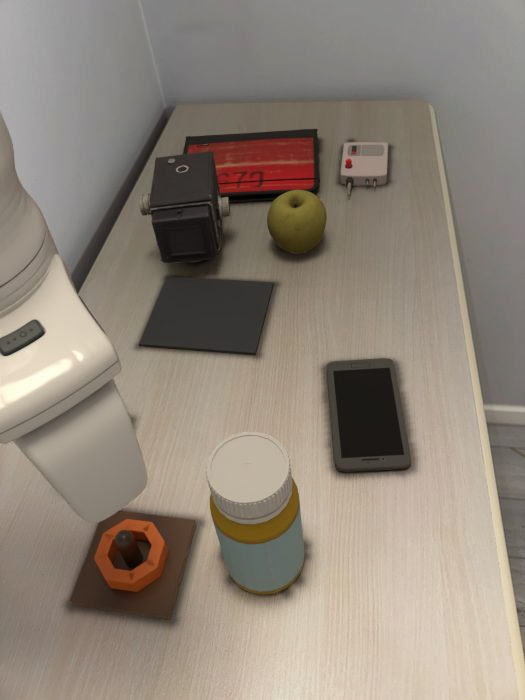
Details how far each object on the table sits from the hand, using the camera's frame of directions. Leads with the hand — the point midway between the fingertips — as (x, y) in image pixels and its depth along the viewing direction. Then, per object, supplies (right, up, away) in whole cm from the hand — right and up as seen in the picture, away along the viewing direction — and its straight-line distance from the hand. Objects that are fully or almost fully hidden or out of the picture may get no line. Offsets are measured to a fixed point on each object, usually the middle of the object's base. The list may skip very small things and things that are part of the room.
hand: (64, 448), depth 44 cm
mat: (+6, +11, +38) cm, 40 cm away
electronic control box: (+28, +33, +56) cm, 71 cm away
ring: (+2, -12, +16) cm, 20 cm away
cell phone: (+24, 0, +25) cm, 35 cm away
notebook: (+11, +33, +58) cm, 68 cm away
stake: (+2, -13, +16) cm, 21 cm away
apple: (+18, +20, +45) cm, 53 cm away
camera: (+4, +21, +47) cm, 52 cm away
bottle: (+13, -12, +16) cm, 24 cm away
